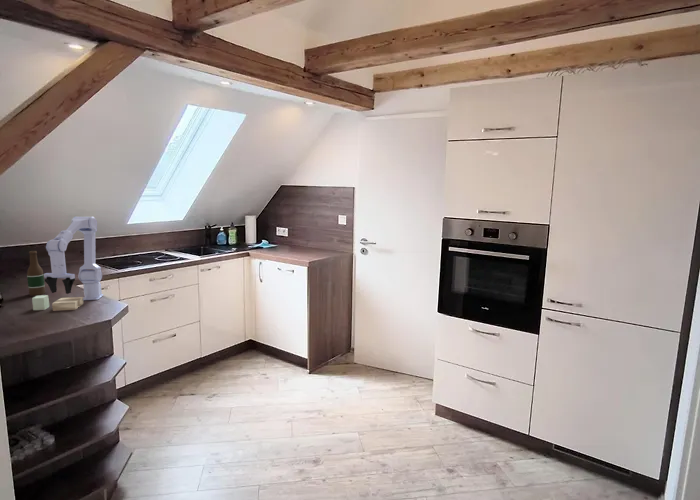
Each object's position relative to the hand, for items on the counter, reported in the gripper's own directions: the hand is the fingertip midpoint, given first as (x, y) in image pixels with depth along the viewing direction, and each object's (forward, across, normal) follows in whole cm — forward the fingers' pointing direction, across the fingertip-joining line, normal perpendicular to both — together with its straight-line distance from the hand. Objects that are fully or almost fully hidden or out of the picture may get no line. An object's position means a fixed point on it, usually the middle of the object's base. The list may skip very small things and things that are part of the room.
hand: (61, 292), depth 206 cm
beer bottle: (+10, -39, +26) cm, 48 cm away
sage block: (+10, -16, +4) cm, 19 cm away
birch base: (+10, -4, +8) cm, 14 cm away
